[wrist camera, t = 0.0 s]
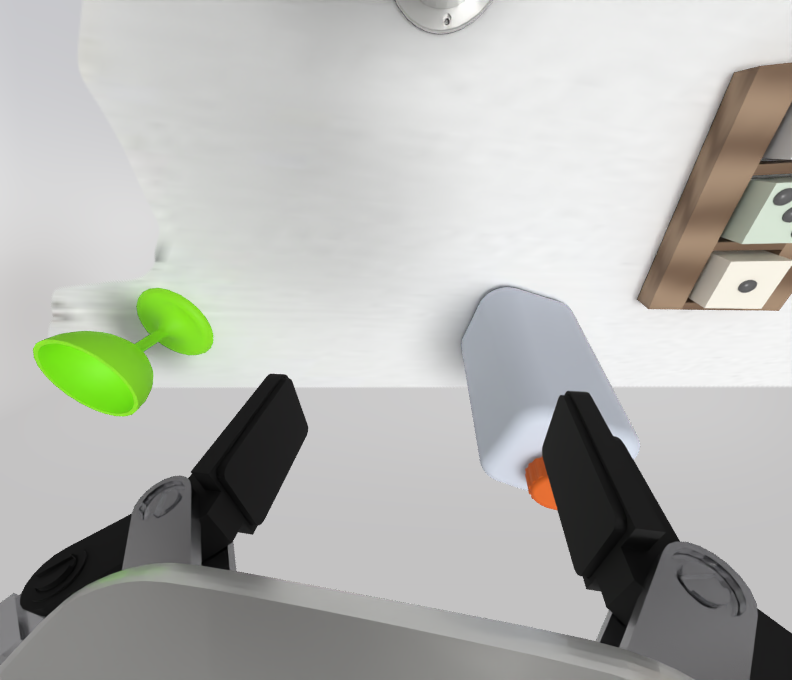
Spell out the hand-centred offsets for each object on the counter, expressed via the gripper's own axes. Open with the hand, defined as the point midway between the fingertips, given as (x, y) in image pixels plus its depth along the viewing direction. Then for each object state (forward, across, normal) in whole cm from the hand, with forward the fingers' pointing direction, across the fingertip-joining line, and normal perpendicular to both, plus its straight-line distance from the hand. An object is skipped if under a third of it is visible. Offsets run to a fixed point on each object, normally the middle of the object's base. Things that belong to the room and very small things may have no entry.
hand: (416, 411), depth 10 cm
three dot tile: (+35, -36, +1) cm, 50 cm away
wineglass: (+37, +55, +19) cm, 69 cm away
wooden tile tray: (+37, -36, +1) cm, 51 cm away
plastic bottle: (+37, -12, +19) cm, 43 cm away
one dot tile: (+35, -36, +9) cm, 51 cm away
